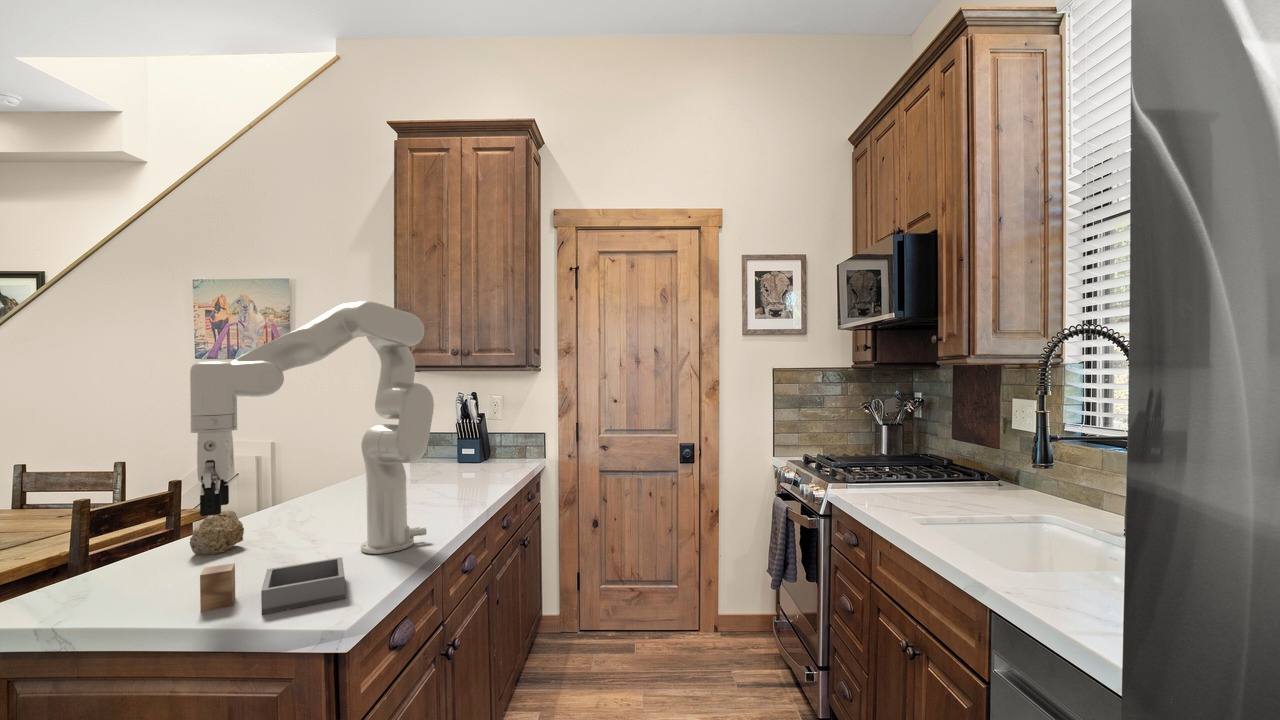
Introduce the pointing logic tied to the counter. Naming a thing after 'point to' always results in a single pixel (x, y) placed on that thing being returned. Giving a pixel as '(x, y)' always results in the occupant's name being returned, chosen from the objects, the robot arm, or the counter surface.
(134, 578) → the counter surface
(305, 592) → the bin
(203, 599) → the walnut block
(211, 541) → the rock
